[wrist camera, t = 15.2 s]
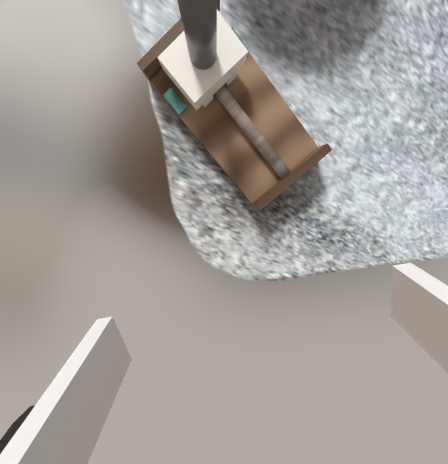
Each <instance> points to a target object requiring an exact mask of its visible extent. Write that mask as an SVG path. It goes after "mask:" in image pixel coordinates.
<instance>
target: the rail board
mask: <svg viewBox="0 0 448 464" xmlns="http://www.w3.org/2000/svg"><path fill="white" fill-rule="evenodd" d="M217 9H218V11H219V10H220V0H217ZM220 14H221V13H220ZM223 18H224V17H223ZM228 25H229V24H228ZM231 29H232V30H233V31H234V29H233V28H231ZM183 31H184V28H183V24H182V19H180V20H179V21H178V22H177V23H176V24H175V25H174V26H173V27H172V28H171V29H170V30H169V31H168V32H167V33H166V34H165V35H164V36H163V37H162V38H161V39H160V40H159V41H158V42H157V43H156V44H155V45H154V46H153V47H152V48H151V49H150V50H149V51H148V52H147V53H146V54H145V55H144V56H143V57H142V59H141V60H140V61H139V62H138V63H137V64H138V66H139V67H140V69H141V70H142V71H143V73H144V74H145V76H146V78H147V79H148V81H149V82H150V83H151V84H152V85H153V87H154V88H155V89H156V90H157V91H158V93H159V94H160V95H161V96H162V97H163V99H164V100H165V101H166V102H167V103H168V105H169V106H170V107H171V108H172V109H173V111H174V112H175V113H176V114H177V115H178V117H179V118H180V119H181V120H182V121H183V122H184V124H185V125H186V126H187V127H188V128H189V130H190V131H191V132H192V133H193V134H194V136H195V137H196V138H197V139H198V140H199V142H200V143H201V144H202V145H203V146H204V148H205V149H206V150H207V151H208V152H209V154H210V155H211V156H212V157H213V158H214V160H215V161H216V162H217V163H218V164H219V165H220V167H221V168H222V169H223V170H224V171H225V173H226V174H227V175H228V176H229V177H230V179H231V180H232V181H233V182H234V183H235V185H236V186H237V187H238V188H239V189H240V191H241V192H242V193H243V194H244V195H245V197H246V198H247V199H248V200H249V201H250V202H251V204H252V205H253V206H254V207H255V208H257V209H258V210H260V211H261V210H262V209H263V208H264V207H265V206H267V205H268V204H269V203H270V202H271V201H272V200H274V199H275V198H276V197H277V196H278V195H279V194H281V193H282V192H283V191H284V190H285V189H287V188H288V187H289V186H290V185H291V184H292V183H294V182H295V181H296V180H297V179H298V178H300V177H301V176H302V175H303V174H304V173H305V172H307V171H308V170H309V169H310V168H311V167H313V166H314V165H315V164H316V163H317V162H318V161H320V160H321V159H322V158H323V157H324V156H325V155H327V154H328V153H329V152H330V151H331V150H332V149H331V148H330V146H329V145H328V144H325V145H322V146H319V147H317V145H316V144H315V142H314V141H313V140H312V138H311V137H310V136H309V134H308V133H307V132H306V130H305V129H304V127H303V126H302V125H301V123H300V122H299V121H298V119H297V118H296V116H295V115H294V114H293V112H292V111H291V110H290V108H289V107H288V105H287V104H286V103H285V101H284V100H283V99H282V97H281V96H280V94H279V93H278V92H277V90H276V89H275V88H274V86H273V85H272V83H271V82H270V81H269V79H268V78H267V77H266V75H265V74H264V72H263V71H262V70H261V68H260V67H259V66H258V64H257V63H256V61H255V60H254V59H253V57H252V56H251V55H250V53H249V52H248V54H247V58H246V62H245V65H244V66H243V67H242V68H241V69H240V70H239V71H238V72H237V77H236V78H235V79H234V80H233V81H232V82H231V83H230V84H229V85H228V86H226V84H224V85H223V86H222V87H221V88H220V89H219V90H218V91H217V92H216V93H215V94H214V95H213V100H212V101H211V102H210V103H209V104H208V105H207V106H206V107H205V108H204V107H203V106H201V107H200V108H199V109H198V110H197V111H196V109H195V108H194V107H193V106H192V104H191V103H190V102H189V101H188V100H187V98H186V97H185V96H184V95H183V93H182V92H181V91H180V90H179V88H178V87H177V86H176V85H175V84H174V82H173V81H172V80H171V79H170V77H169V76H168V75H167V74H166V73H165V71H164V70H163V68H162V66H161V64H160V62H159V60H158V56H159V55H160V54H161V53H162V52H163V51H164V50H165V49H166V48H167V47H168V46H169V45H170V44H171V43H172V42H173V41H174V40H175V39H176V38H177V37H178V36H179V35H180V34H181V33H182V32H183ZM234 33H235V34H236V36H237V37H238V38H239V40H240V41H241V42H242V40H241V39H240V37H239V36H238V35H237V33H236V32H235V31H234ZM242 44H243V45H244V47H245V48H246V49H248V48H247V47H246V46H245V44H244V43H243V42H242ZM247 51H248V50H247Z"/></svg>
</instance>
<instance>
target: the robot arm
mask: <svg viewBox="0 0 448 464" xmlns="http://www.w3.org/2000/svg"><path fill="white" fill-rule="evenodd" d="M391 316H392V317H393V318H394V320H395V321H396V322H397V323H398V324H399V325H400V326H401V327H402V328H404V329H405V331H407V333H408V334H409V335H410V336H411V337H412V338H413V339H414V340H415V341H416V342H417V343H418V344H419V345H420V346H421V347H422V348H424V350H425V351H426V352H427V353H428V354H429V355H430V356H431V357H432V358H433V359H434V360H435V361H436V362H437V363H438V364H439V365H440V366H441V367H442V368H443V369H444V370H445V371H446V372H447V373H448V286H447V285H445V284H444V283H442V282H441V281H439V280H437V279H436V278H434V277H433V276H431V275H429V274H428V273H426V272H425V271H423V270H421V269H420V268H418V267H416V266H415V265H413V264H412V263H406V264H401V265H395V266H393V271H392V293H391ZM130 361H131V356H130V354H129V353H128V350H127V348H126V346H125V343H124V341H123V339H122V337H121V335H120V332H119V330H118V328H117V326H116V324H115V322H114V319H113V318H112V317H108V318H102V319H97V320H96V322H95V323H94V325H93V326H92V327H91V329H90V330H89V331H88V333H87V334H86V336H85V337H84V339H83V340H82V341H81V343H80V344H79V345H78V347H77V348H76V350H75V351H74V352H73V354H72V355H71V357H70V358H69V359H68V361H67V362H66V363H65V365H64V366H63V368H62V369H61V370H60V372H59V373H58V375H57V376H56V377H55V379H54V380H53V382H52V383H51V384H50V386H49V387H48V389H47V390H46V391H45V393H44V394H43V396H42V397H41V398H40V400H39V401H38V402H37V404H36V405H35V406H31V407H29V408H28V409H27V410H26V411H25V412H24V413H23V414H22V415H21V416H20V417H19V418H18V419H17V420H16V421H15V422H14V423H13V424H12V425H11V427H10V428H9V429H8V431H7V432H6V433H5V435H4V436H3V438H2V439H1V440H0V464H87V463H88V461H89V458H90V456H91V454H92V451H93V449H94V447H95V444H96V442H97V440H98V437H99V435H100V432H101V430H102V428H103V425H104V423H105V421H106V418H107V416H108V414H109V411H110V409H111V406H112V404H113V402H114V399H115V397H116V395H117V392H118V390H119V387H120V385H121V383H122V380H123V378H124V376H125V373H126V371H127V368H128V366H129V364H130Z"/></svg>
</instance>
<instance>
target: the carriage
mask: <svg viewBox="0 0 448 464" xmlns="http://www.w3.org/2000/svg"><path fill="white" fill-rule="evenodd" d="M178 5H179V9H180V14H181V19H182V24H183V28H184V31H183V32H182V33H181V34H180V35H179V36H178V37H177V38H176V39H175V40H174V41H173V42H172V43H171V44H170V45H169V46H168V47H167V48H166V49H165V50H164V51H163V52H162V53H161V54H160V55H159V56H158V60H159V62H160V64H161V66H162V68H163V70H164V71H165V73H166V74H167V75H168V76H169V77H170V79H171V80H172V81H173V82H174V84H175V85H176V86H177V87H178V88H179V90H180V91H181V92H182V93H183V95H184V96H185V97H186V98H187V100H188V101H189V102H190V103H191V104H192V106H193V107H194V108H195V109H196V111H197V110H198V109H199V108H200V107H201V106H203V107H204V108H205V107H206V106H207V105H208V104H209V103H210V102H211V101H212V100H213V95H214V94H215V93H216V92H217V91H218V90H219V89H220V88H221V87H222V86H223V85H224V84H226V86H228V85H229V84H230V83H231V82H232V81H233V80H234V79H235V78H236V77H237V72H238V71H239V70H240V69H241V68H242V67H243V66H244V65H245V62H246V58H247V54H248V51H247V49H246V48H245V47H244V45H243V44H242V42H241V41H240V40H239V38H238V37H237V36H236V34H235V33H234V31H233V30H232V29H231V27H230V26H229V25H228V23H227V22H226V20H225V19H224V18H223V16H222V15H221V14H220V12H219V11H218V9H217V0H178Z"/></svg>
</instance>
